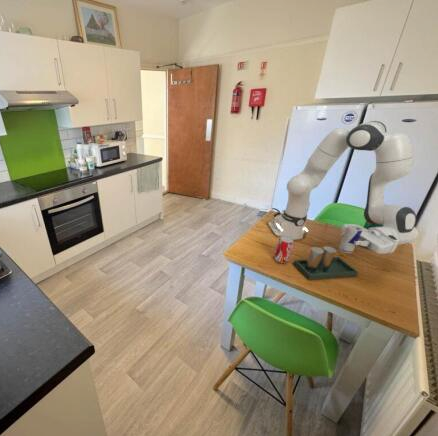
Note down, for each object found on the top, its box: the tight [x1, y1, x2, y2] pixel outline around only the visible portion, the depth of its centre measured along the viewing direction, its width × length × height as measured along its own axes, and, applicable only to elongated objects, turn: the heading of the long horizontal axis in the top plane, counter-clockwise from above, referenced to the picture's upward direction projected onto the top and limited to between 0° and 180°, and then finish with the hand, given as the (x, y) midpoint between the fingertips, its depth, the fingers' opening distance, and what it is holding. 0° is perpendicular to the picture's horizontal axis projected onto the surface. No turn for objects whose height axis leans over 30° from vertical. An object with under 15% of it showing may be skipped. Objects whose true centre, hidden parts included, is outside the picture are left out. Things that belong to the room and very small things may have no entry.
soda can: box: [273, 236, 295, 264], centre depth 122 cm, size 7×7×13 cm
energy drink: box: [338, 225, 362, 254], centre depth 108 cm, size 5×5×12 cm
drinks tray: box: [293, 256, 359, 281], centre depth 117 cm, size 12×24×2 cm, turn 94°
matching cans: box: [305, 245, 337, 273], centre depth 114 cm, size 5×11×12 cm, turn 94°
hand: (348, 238), depth 108 cm, fingers closed on energy drink, 5 cm apart
